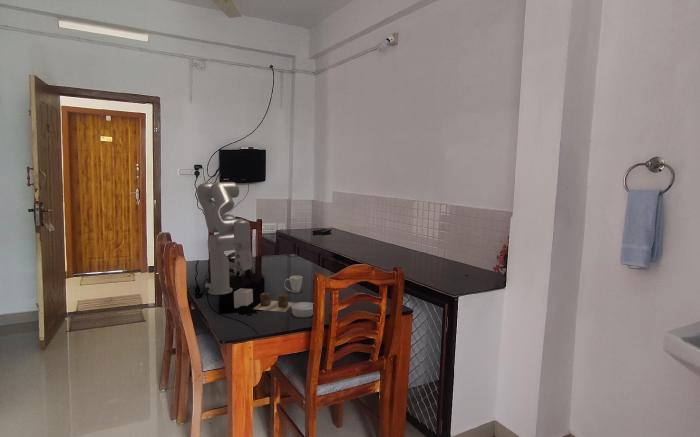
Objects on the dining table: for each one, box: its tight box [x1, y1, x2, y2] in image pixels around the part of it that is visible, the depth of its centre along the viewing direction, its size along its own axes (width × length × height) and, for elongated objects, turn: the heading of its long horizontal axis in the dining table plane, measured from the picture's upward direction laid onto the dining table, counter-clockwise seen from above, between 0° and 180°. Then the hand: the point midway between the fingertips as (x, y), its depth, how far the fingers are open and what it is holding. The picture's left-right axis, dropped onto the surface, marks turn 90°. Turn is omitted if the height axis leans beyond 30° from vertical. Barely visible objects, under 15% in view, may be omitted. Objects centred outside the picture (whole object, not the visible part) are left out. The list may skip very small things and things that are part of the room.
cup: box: [283, 275, 303, 294], centre depth 233 cm, size 7×10×8 cm
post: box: [277, 293, 289, 308], centre depth 204 cm, size 4×4×6 cm
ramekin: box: [290, 301, 314, 318], centre depth 195 cm, size 11×11×5 cm
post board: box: [252, 292, 296, 313], centre depth 205 cm, size 16×14×7 cm
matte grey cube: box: [233, 287, 254, 309], centre depth 209 cm, size 7×7×8 cm
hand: (243, 281), depth 207 cm, fingers open, 9 cm apart
